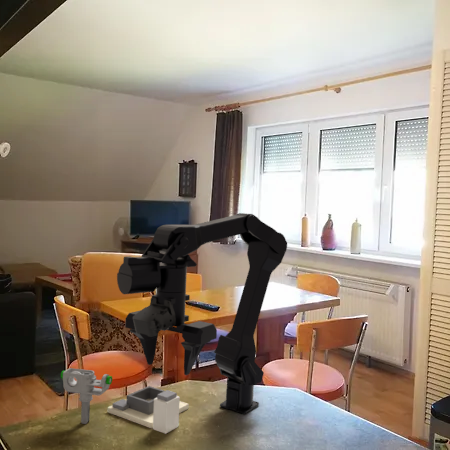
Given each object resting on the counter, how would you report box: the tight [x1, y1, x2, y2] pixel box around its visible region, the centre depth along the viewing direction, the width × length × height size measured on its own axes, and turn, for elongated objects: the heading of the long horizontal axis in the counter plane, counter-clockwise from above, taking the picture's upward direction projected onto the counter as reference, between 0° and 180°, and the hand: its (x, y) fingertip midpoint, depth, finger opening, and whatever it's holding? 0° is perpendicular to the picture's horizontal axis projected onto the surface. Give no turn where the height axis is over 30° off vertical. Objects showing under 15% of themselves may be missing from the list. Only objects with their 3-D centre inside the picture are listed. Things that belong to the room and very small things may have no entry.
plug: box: [152, 389, 181, 435], centre depth 99 cm, size 4×3×7 cm
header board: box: [107, 385, 190, 429], centre depth 107 cm, size 12×12×4 cm
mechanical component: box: [60, 367, 113, 425], centre depth 100 cm, size 3×10×10 cm, turn 78°
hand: (168, 369), depth 99 cm, fingers open, 9 cm apart
